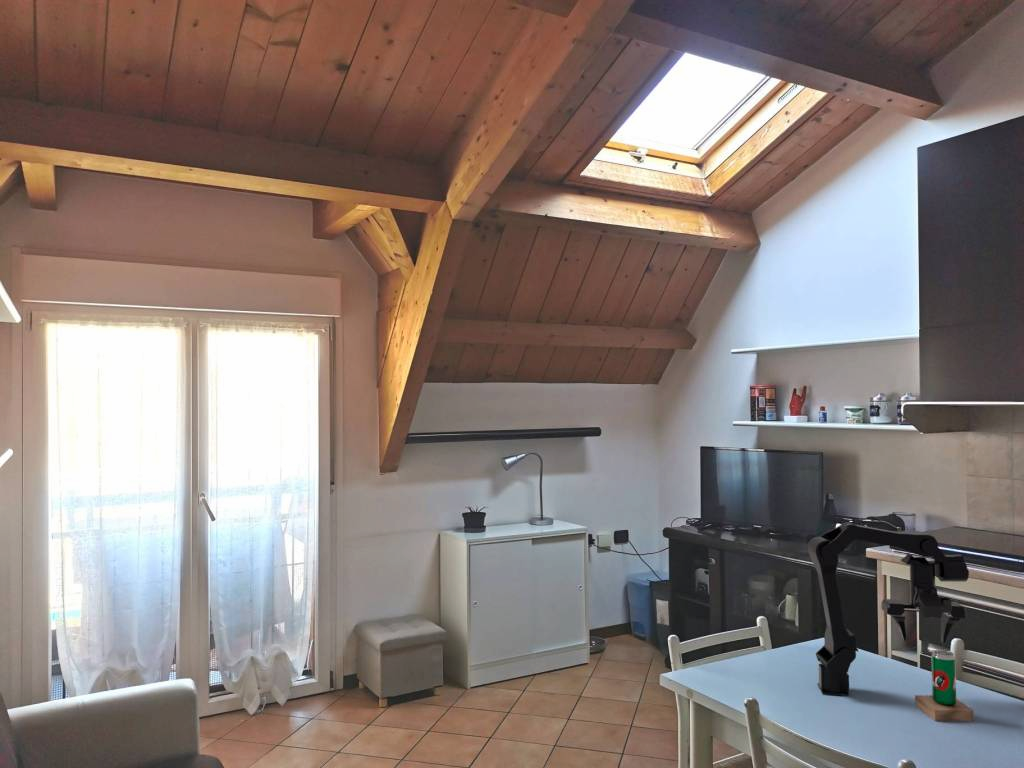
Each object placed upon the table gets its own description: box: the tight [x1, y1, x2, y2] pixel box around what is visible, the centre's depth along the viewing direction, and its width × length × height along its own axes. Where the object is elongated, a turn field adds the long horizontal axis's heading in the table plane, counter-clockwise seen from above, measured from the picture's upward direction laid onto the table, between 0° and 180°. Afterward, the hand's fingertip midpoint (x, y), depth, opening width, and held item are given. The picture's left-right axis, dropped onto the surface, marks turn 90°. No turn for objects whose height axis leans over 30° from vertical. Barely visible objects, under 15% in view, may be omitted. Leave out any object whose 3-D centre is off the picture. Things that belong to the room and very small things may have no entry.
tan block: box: [914, 694, 975, 722], centre depth 180 cm, size 9×9×2 cm
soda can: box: [930, 649, 957, 706], centre depth 180 cm, size 5×5×12 cm
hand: (923, 641), depth 193 cm, fingers open, 9 cm apart
